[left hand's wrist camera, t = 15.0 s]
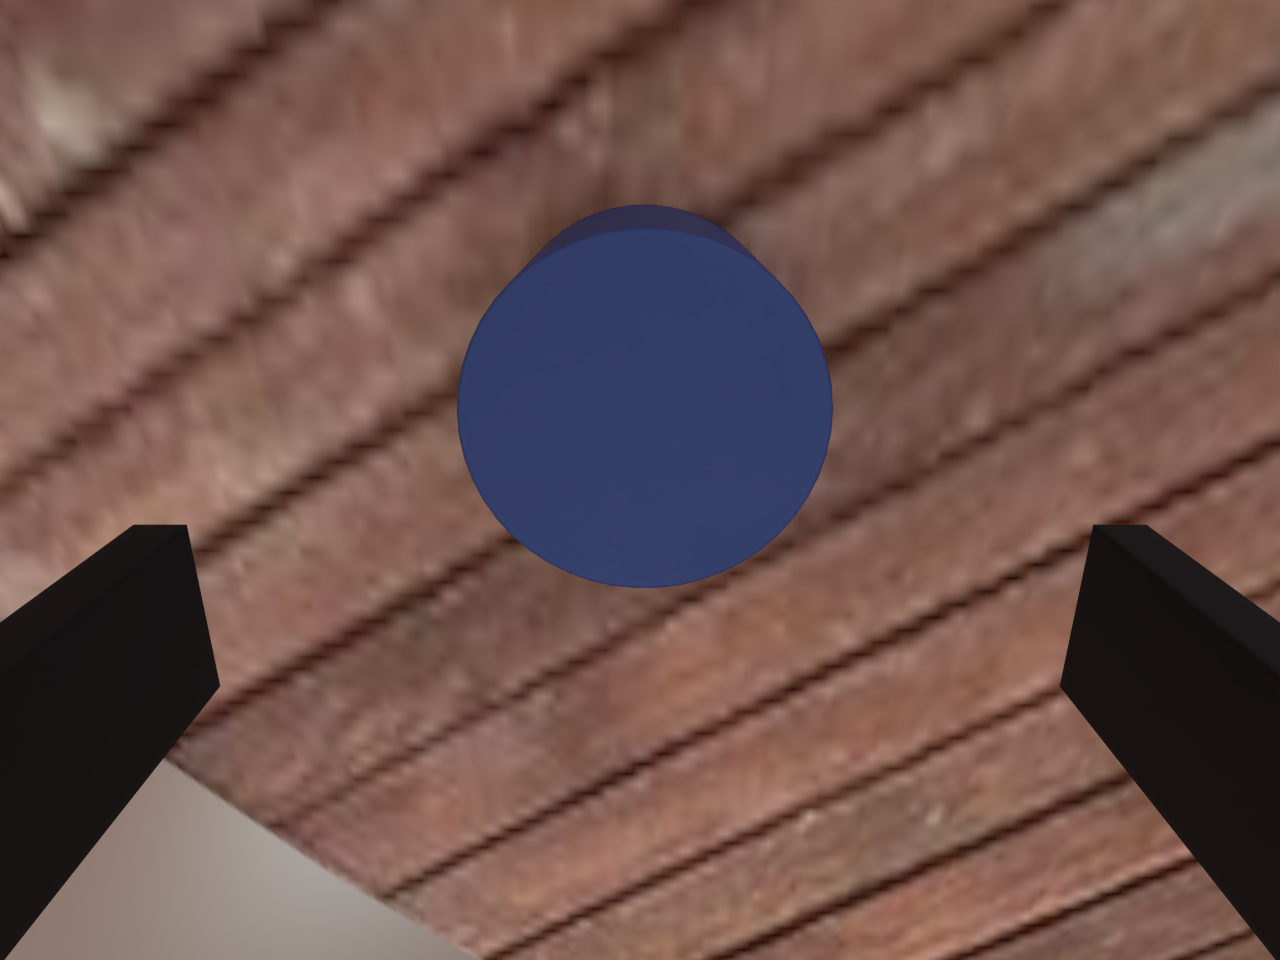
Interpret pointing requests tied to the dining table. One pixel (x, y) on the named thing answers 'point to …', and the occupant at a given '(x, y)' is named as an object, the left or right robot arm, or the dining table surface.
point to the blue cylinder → (644, 401)
